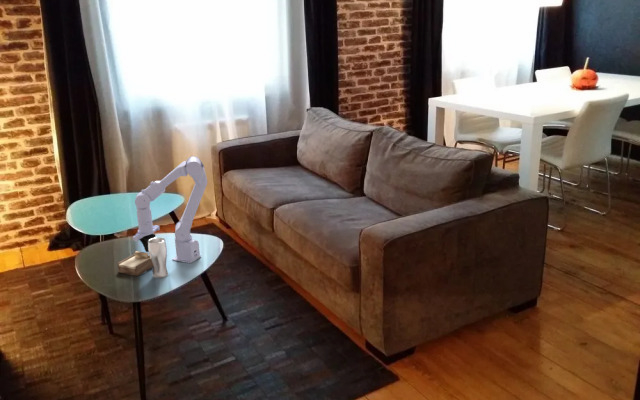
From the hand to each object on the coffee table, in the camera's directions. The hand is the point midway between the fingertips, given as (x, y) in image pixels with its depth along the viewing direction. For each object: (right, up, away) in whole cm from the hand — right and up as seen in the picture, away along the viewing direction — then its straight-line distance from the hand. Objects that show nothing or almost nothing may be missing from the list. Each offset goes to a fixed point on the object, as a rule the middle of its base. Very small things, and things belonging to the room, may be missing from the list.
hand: (148, 251), depth 255 cm
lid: (-3, -4, -7) cm, 9 cm away
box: (-3, -7, -5) cm, 9 cm away
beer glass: (+8, -9, -12) cm, 17 cm away
